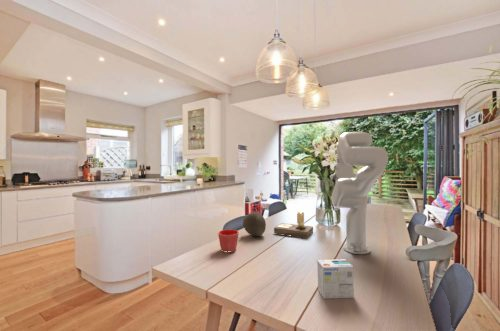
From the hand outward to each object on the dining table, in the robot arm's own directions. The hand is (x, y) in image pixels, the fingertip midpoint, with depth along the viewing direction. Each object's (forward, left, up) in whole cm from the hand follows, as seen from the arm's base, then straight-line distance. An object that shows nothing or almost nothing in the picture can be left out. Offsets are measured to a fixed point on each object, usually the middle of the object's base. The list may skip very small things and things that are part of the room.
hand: (343, 189), depth 145 cm
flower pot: (-51, +52, -30) cm, 79 cm away
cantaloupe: (-23, +51, -30) cm, 63 cm away
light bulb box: (-69, -5, -30) cm, 76 cm away
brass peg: (-6, +26, -30) cm, 40 cm away
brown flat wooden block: (-6, +31, -30) cm, 43 cm away
